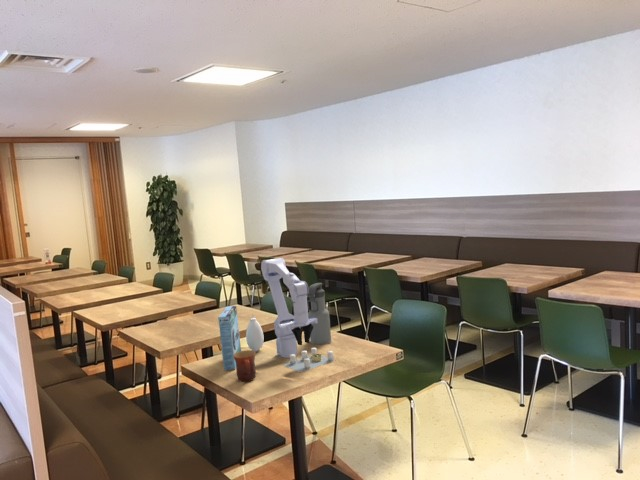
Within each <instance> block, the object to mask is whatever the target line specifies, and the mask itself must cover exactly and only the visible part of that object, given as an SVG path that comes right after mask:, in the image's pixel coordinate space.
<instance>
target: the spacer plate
mask: <svg viewBox="0 0 640 480" xmlns="http://www.w3.org/2000/svg"><path fill="white" fill-rule="evenodd" d="M310 352H311V353H310V354H311V355H308V351H307V350H301V352H300V353H301V358H299V359H297V358H296V357H297V356H295V354H291V355H290V358H289V362H286V363H283V364H282V365H283V366H285V367H287V368H289V369H291V370H294V371H295V372H298V373H302V372H306V371H309V370H311V369H314V368H318V367H321V366H324V365H326V364H329V363H333V362H335V361H336V360H335V358H334V357H335V356H334V351H332V350H328V351H327V356H324V355H322V360H321V361H318V362H313V361H312V358H311V356H312V355H313V354H318V351H317V347H311V348H310Z"/></svg>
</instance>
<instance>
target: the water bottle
mask: <svg viewBox="0 0 640 480" xmlns="http://www.w3.org/2000/svg"><path fill="white" fill-rule="evenodd" d="M322 286H323V282H316V283H313V284H311V285H309V286H308V287H309V293H308V295H307V298H308V299H307V307H308V319H312V318H317V322H318V323H314V324H311V325H313V330H312V332H311V335H310V340H309V342H310V343H311V344H313V345H324V344H325V345H326V344H327V345H328V344H330V343H331V342H332V335H331V319H330V311H329V310H328V309H327V308H326V300H325V297H326V296H325V295H326V293H325V290H324V289H323V287H322ZM309 303H310V304H309ZM309 305H310V306H309ZM310 308H311V309H310Z"/></svg>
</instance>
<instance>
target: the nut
mask: <svg viewBox="0 0 640 480" xmlns="http://www.w3.org/2000/svg"><path fill="white" fill-rule="evenodd" d="M310 356H311V358H312V361H313V362H318V361H321V360H322V356H323V355H322V353H321V354H320V353H317V354H313V355H310Z"/></svg>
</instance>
